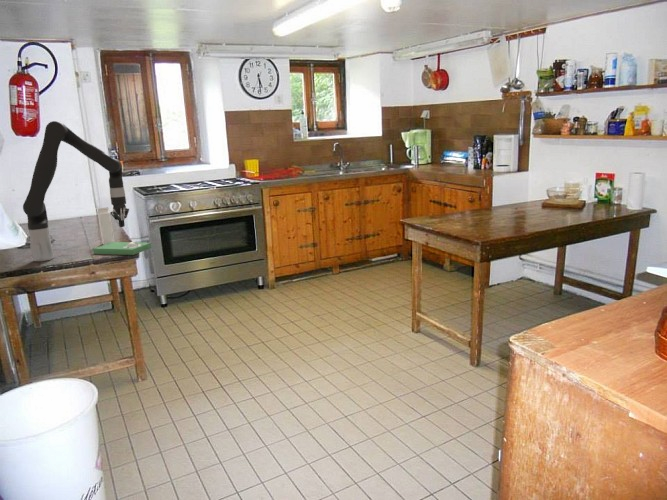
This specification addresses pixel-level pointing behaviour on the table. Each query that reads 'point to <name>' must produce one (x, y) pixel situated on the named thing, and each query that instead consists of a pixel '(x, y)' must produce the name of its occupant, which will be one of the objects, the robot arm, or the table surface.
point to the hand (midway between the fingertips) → (122, 226)
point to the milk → (105, 225)
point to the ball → (131, 245)
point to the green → (121, 248)
